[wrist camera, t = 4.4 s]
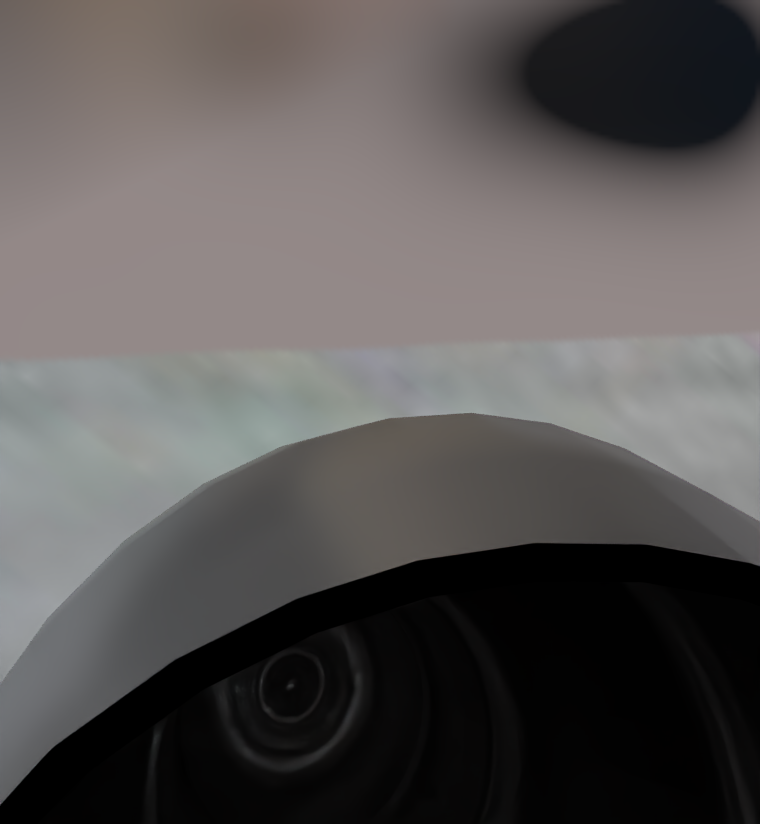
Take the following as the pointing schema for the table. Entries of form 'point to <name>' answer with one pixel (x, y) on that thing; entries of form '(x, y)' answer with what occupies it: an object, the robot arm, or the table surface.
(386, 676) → the plastic bottle
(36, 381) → the table surface
